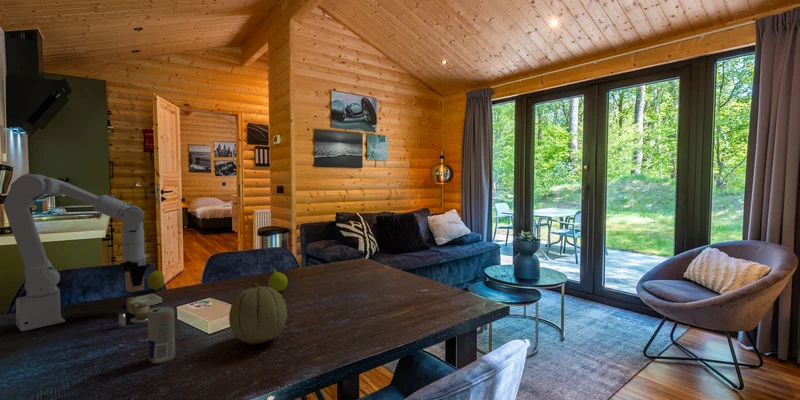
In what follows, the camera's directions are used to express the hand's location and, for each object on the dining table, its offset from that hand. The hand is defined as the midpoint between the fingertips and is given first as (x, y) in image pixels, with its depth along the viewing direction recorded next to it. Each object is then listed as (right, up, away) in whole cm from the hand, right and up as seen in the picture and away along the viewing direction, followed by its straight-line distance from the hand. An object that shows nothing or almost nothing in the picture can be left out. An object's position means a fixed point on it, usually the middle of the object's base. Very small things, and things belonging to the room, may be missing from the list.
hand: (134, 284), depth 124 cm
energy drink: (+30, -10, -34) cm, 46 cm away
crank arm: (+5, -8, -6) cm, 11 cm away
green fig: (+40, -8, +23) cm, 47 cm away
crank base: (+7, -9, -10) cm, 15 cm away
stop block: (0, -2, 0) cm, 2 cm away
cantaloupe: (+49, -10, -23) cm, 56 cm away
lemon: (-7, -8, +23) cm, 25 cm away
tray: (-1, -8, +6) cm, 10 cm away
